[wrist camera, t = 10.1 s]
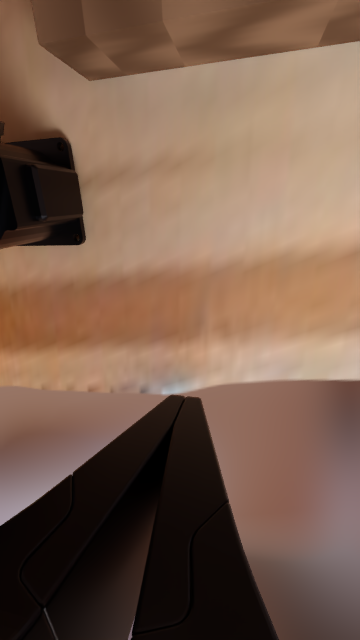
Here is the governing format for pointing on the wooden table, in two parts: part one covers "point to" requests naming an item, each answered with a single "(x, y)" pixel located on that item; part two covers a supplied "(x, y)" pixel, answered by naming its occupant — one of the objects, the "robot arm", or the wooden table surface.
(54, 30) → the block
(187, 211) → the wooden table surface
